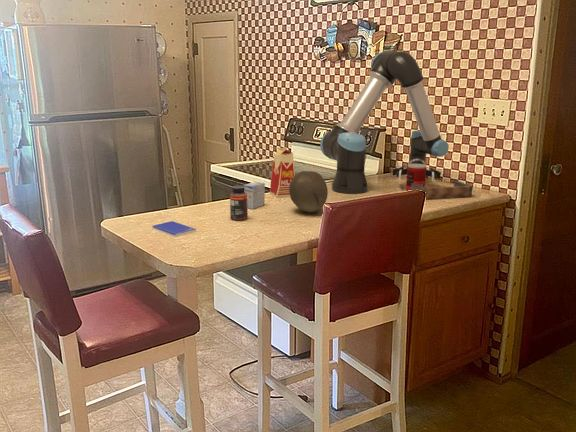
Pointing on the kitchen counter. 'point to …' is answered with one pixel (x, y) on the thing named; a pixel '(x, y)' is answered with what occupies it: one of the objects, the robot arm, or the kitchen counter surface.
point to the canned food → (415, 175)
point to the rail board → (446, 191)
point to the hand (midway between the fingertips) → (416, 177)
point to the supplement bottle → (238, 204)
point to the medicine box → (255, 194)
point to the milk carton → (282, 173)
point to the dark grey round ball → (308, 191)
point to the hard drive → (173, 228)
